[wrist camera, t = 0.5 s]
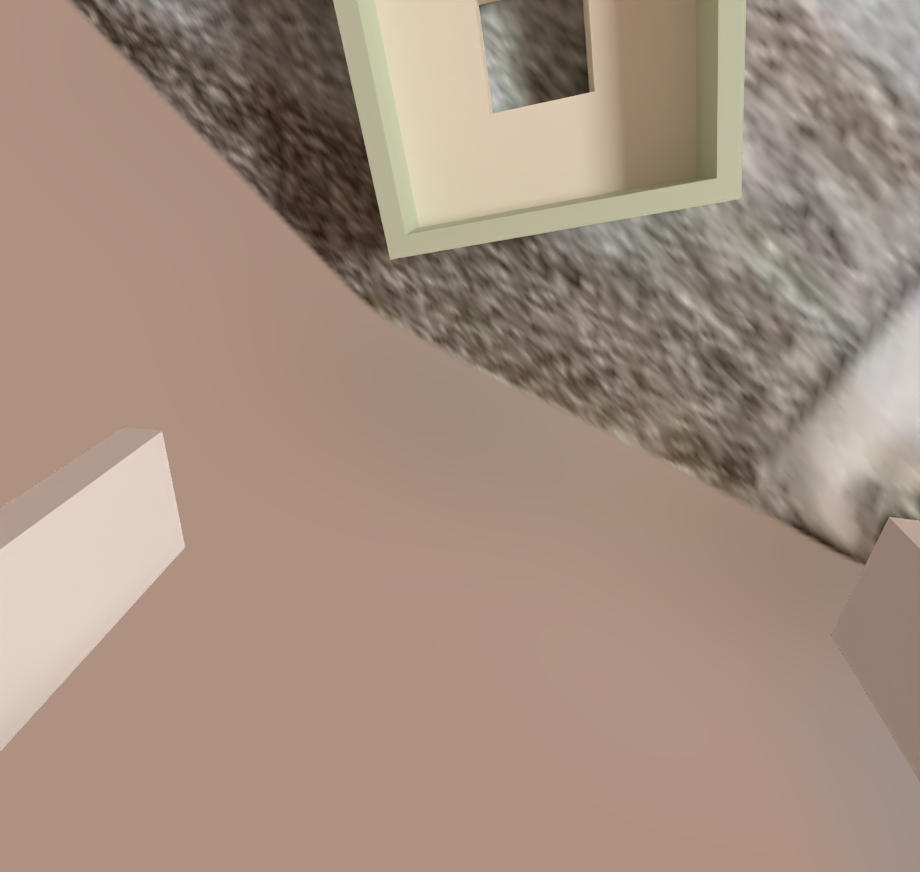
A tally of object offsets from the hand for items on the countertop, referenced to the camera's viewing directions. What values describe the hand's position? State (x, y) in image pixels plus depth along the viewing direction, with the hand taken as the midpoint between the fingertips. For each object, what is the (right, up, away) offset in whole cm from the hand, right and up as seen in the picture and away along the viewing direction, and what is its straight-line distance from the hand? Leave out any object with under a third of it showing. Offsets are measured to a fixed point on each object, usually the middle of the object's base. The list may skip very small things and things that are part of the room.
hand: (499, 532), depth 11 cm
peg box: (+3, +21, +18) cm, 28 cm away
